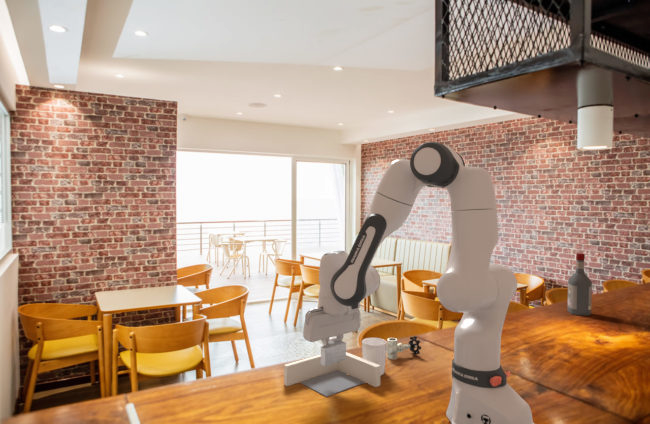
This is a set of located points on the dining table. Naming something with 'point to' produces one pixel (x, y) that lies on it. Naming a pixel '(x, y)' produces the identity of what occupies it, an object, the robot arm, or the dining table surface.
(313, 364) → the corner walls
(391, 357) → the valve
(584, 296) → the liquor
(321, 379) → the mat
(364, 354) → the white cup
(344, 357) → the bracket
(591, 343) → the dining table surface
